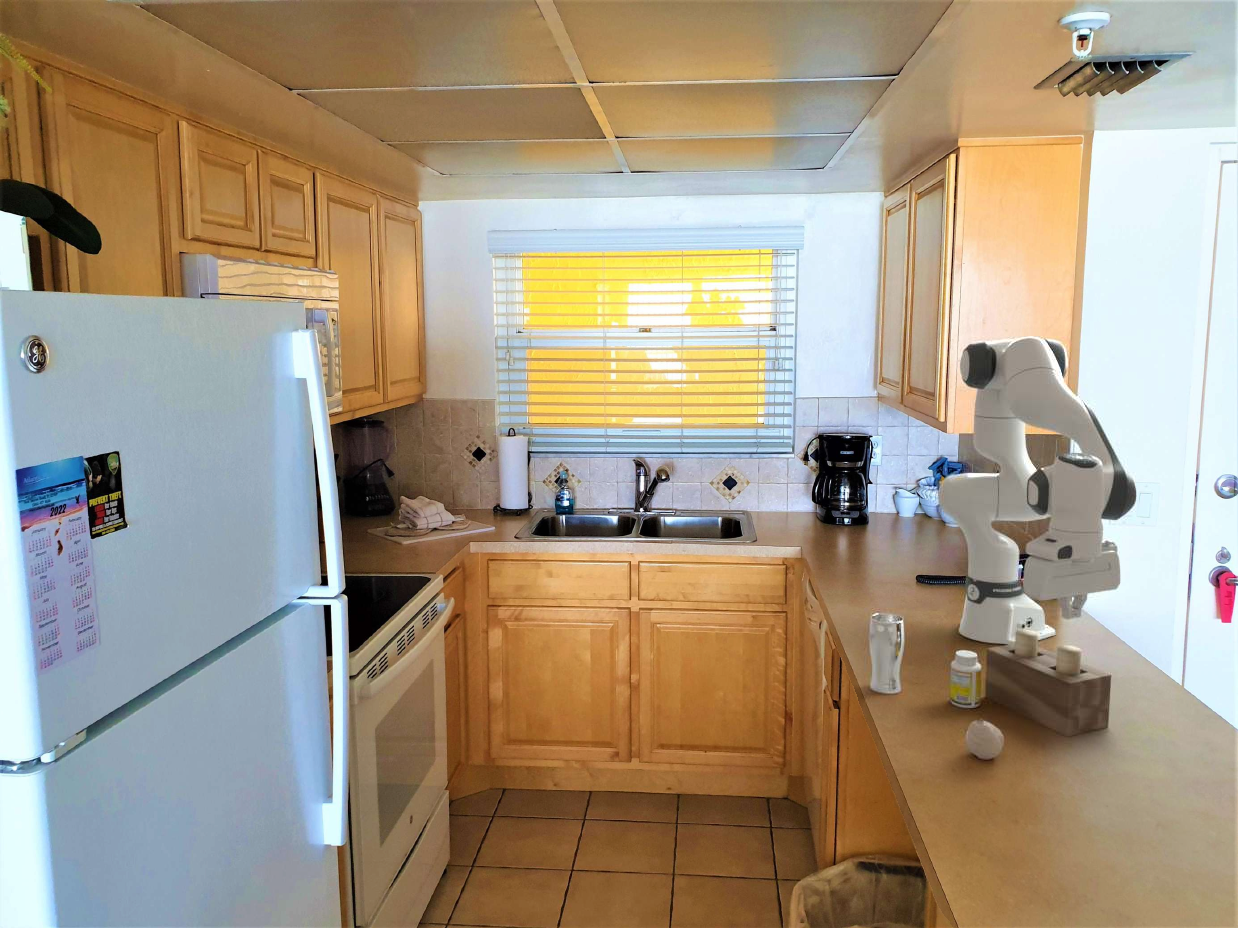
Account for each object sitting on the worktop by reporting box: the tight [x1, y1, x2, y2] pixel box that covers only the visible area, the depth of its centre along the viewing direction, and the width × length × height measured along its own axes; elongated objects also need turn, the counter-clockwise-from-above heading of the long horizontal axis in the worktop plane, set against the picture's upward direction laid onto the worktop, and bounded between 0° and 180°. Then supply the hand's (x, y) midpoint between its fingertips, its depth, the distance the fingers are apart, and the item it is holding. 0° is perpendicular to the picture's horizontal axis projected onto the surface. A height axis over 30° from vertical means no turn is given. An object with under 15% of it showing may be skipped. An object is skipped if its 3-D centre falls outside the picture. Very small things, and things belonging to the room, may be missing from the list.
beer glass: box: [868, 612, 906, 695], centre depth 187 cm, size 7×7×15 cm
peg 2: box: [1056, 644, 1082, 676], centre depth 170 cm, size 4×4×9 cm
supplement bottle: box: [949, 649, 982, 709], centre depth 179 cm, size 6×6×10 cm
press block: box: [984, 644, 1112, 737], centre depth 175 cm, size 10×20×10 cm, turn 22°
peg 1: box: [1015, 630, 1039, 659], centre depth 179 cm, size 4×4×9 cm
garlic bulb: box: [965, 718, 1005, 760], centre depth 157 cm, size 7×6×8 cm
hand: (1071, 617), depth 168 cm, fingers closed
